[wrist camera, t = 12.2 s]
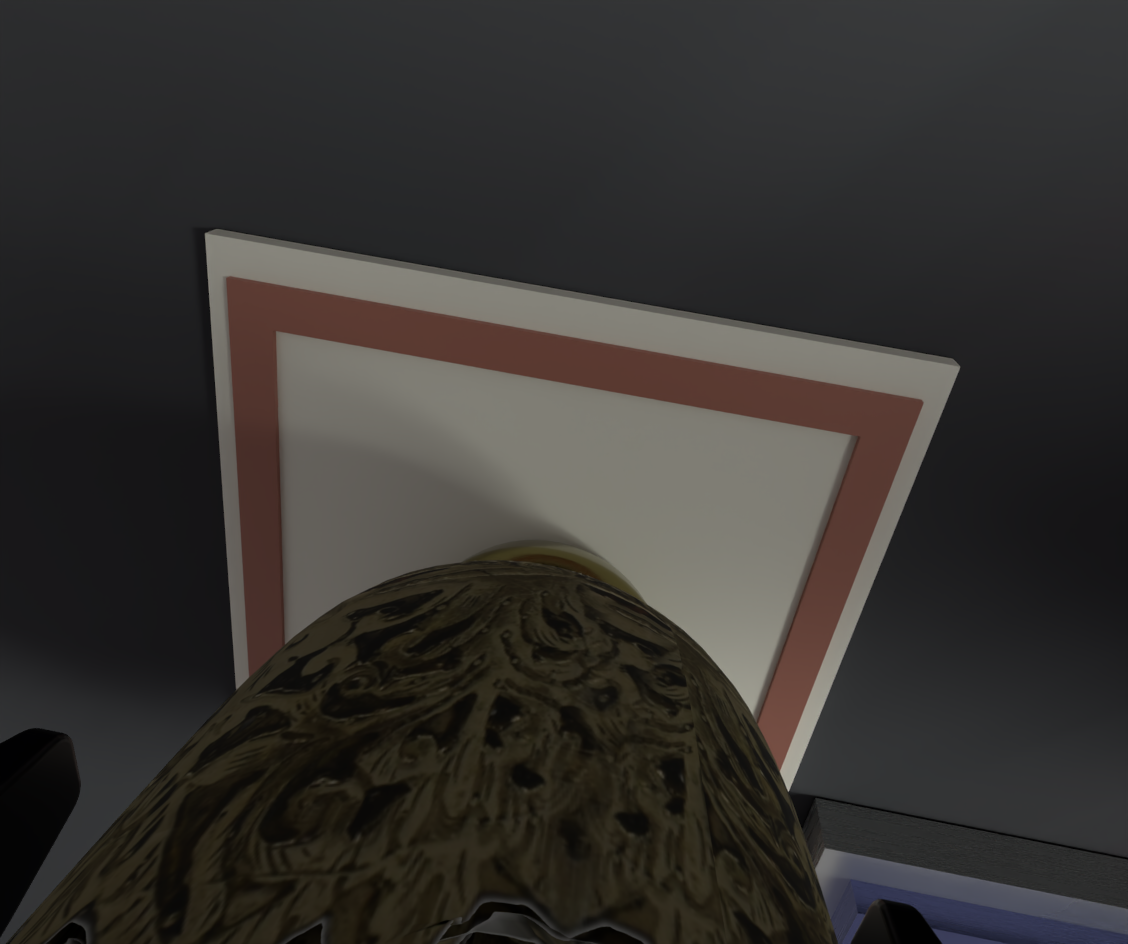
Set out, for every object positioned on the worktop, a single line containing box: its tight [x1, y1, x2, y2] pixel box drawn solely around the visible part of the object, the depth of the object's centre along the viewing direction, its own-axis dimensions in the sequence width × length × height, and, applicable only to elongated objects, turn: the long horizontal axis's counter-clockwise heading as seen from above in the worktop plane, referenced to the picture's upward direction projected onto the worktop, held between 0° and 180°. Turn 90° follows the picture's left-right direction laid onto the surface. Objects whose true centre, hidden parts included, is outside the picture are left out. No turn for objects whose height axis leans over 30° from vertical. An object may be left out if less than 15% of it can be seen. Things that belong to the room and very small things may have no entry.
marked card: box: [205, 229, 960, 792], centre depth 12 cm, size 10×10×1 cm
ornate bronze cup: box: [6, 540, 838, 944], centre depth 9 cm, size 8×7×8 cm
